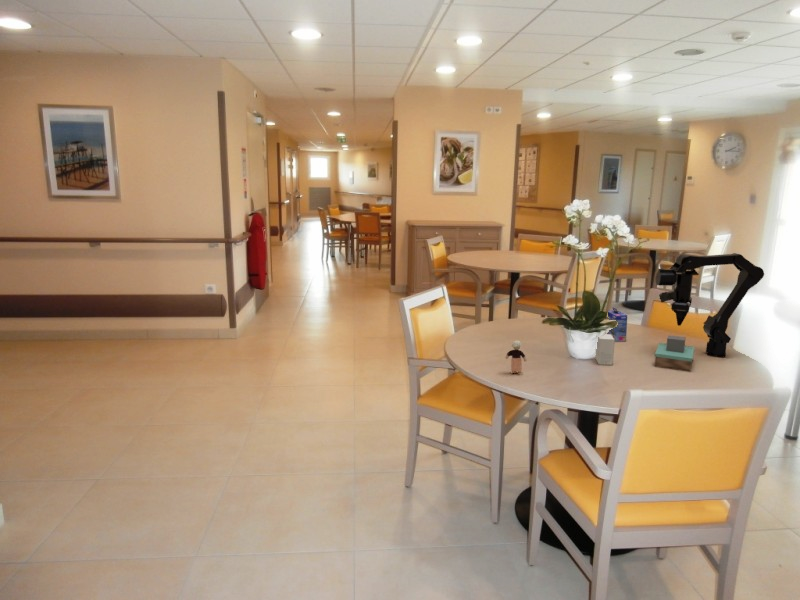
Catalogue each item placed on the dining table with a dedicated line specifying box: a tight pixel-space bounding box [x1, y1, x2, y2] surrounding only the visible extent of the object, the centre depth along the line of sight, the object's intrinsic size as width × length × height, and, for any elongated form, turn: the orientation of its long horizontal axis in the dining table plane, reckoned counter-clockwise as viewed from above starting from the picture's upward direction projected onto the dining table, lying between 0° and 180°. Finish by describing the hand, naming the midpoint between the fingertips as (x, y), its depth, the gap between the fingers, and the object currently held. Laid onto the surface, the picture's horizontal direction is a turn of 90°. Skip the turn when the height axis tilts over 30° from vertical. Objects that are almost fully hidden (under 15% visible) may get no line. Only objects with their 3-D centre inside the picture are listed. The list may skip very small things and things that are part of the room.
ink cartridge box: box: [607, 307, 628, 342], centre depth 241 cm, size 10×6×14 cm, turn 5°
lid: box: [654, 342, 695, 363], centre depth 207 cm, size 13×16×1 cm
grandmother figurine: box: [504, 340, 527, 375], centre depth 197 cm, size 8×4×13 cm, turn 80°
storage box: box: [654, 357, 693, 372], centre depth 208 cm, size 12×16×4 cm
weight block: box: [666, 334, 687, 353], centre depth 207 cm, size 6×5×5 cm
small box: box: [594, 333, 615, 366], centre depth 209 cm, size 8×6×10 cm
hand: (679, 323), depth 217 cm, fingers open, 9 cm apart
